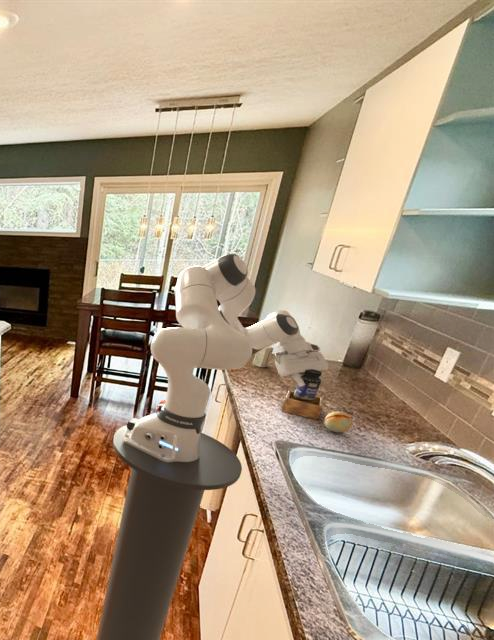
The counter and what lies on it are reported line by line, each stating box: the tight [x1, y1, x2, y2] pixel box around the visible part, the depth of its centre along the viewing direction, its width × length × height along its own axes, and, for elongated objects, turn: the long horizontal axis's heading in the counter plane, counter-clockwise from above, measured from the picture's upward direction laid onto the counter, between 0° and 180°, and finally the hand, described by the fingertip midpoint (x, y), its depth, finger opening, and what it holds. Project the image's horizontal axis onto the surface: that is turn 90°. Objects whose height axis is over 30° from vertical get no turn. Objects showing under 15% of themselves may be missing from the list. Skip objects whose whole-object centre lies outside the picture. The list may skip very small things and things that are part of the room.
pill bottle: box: [294, 369, 323, 402], centre depth 143 cm, size 6×6×11 cm
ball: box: [323, 411, 353, 433], centre depth 131 cm, size 7×7×7 cm
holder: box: [281, 389, 324, 421], centre depth 146 cm, size 11×11×5 cm
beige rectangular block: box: [252, 345, 275, 368], centre depth 191 cm, size 5×4×10 cm
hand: (311, 385), depth 142 cm, fingers closed on pill bottle, 6 cm apart
